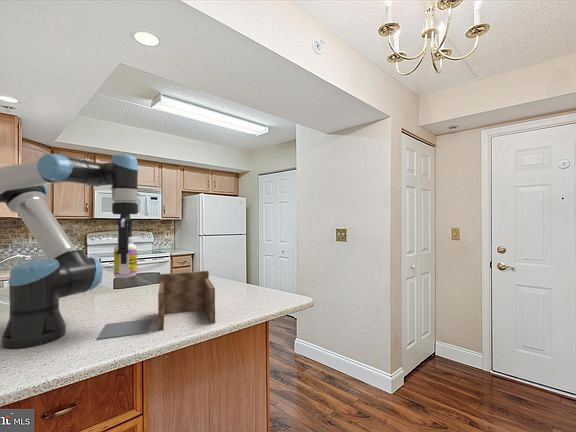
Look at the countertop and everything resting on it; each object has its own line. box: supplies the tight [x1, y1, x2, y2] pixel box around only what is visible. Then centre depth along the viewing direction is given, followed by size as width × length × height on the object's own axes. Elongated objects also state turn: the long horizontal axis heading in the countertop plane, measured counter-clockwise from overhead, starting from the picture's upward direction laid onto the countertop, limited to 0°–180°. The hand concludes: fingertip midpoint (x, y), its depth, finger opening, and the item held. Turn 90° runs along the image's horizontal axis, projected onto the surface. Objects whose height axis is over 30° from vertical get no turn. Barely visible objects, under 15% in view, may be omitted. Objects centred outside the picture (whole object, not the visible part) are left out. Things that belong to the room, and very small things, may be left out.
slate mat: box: [96, 318, 152, 341], centre depth 101 cm, size 14×14×1 cm
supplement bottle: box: [113, 236, 138, 279], centre depth 101 cm, size 7×7×13 cm
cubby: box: [157, 270, 216, 331], centre depth 111 cm, size 18×20×15 cm
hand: (125, 271), depth 101 cm, fingers closed on supplement bottle, 7 cm apart
